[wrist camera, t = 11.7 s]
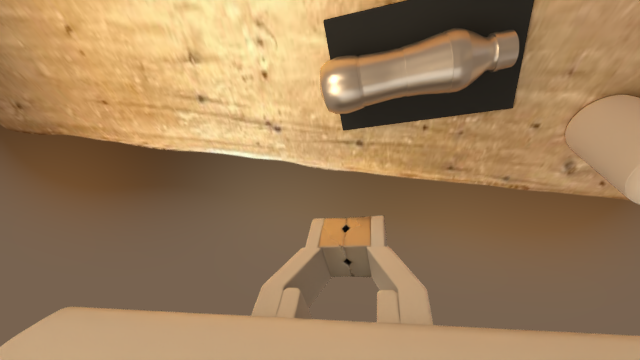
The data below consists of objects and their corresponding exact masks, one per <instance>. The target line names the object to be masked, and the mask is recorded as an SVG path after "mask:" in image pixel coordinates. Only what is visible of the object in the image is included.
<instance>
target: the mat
mask: <svg viewBox="0 0 640 360" xmlns="http://www.w3.org/2000/svg"><path fill="white" fill-rule="evenodd" d="M533 2H534V0H407V1H403V2H398V3H394V4H390V5H386V6H382V7H377V8H373V9H369V10H365V11H360V12H356V13H352V14H348V15H344V16H339V17H335V18H331V19H327V20H324V26H325V32H326V37H327V43H328V49H329V54H330V60H332V59H334V58H336V57H341V56H354V55H356V56H360V55H366V54H372V53H378V52H384V51H389V50H393V49H396V48H397V49H399V48H401V47H403V46H406V45H409V44H413V43H416V42H419V41H421V40H424V39H426V38H429V37H431V36H434V35H436V34H439V33H443V32H444V31H447V30H450V29H453V28H462V29H466V30H469V31H472V32H475V33H477V34H479V35H481V36H483V37H488V35H489V34H490V33H494V32H503V31H507V30H514V31H515V32H516V33H517V35H518V39H519V54H518V58H517V61H516V63H515V64H514V65H513V66H512V67H509V68H505V69H501V70H498V71H496V72H489V71H488V70H487V71H485V72H484V73H483V74H482V75H481V76H479V77H478V78H477V79H476V80H475V81H474V82H473V83H471V84H470V85H469V86H467V87H466V88H464V89H462V90H460V91H457V92H451V93H440V94H424V95H415V96H409V97H406V96H404V97H402V98H395V99H391V100H387V101H384V102H380V103H377V104H373V105H369V106H365V107H364V108H362V109H360V110H357V111H354V112H351V113H348V114H340V116H341V121H342V127H343V130H350V129H358V128H365V127H373V126H380V125H388V124H395V123H403V122H410V121H418V120H425V119H433V118H441V117H448V116H456V115H463V114H471V113H478V112H486V111H493V110H501V109H509V108H513V104H514V99H515V93H516V88H517V83H518V78H519V73H520V68H521V63H522V58H523V53H524V48H525V43H526V37H527V32H528V27H529V22H530V17H531V12H532V7H533Z"/></svg>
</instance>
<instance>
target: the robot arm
mask: <svg viewBox="0 0 640 360" xmlns="http://www.w3.org/2000/svg"><path fill="white" fill-rule="evenodd" d="M341 276H342V277H343V276H355V277H372V279H373V281H374V282H375V284H376V285H377V287H378V289H379V290H380V291H379V292H378V293H377V322H360V321H340V320H321V319H313V318H312V316H311V314H310V311H309V308H310V306H311V305H312V303H313V302H314V301H315V299H316V298H317V297H318V295H319V294H320V292H321V291H322V290H323V288H324V287H325V286H326V284H327V283H328V281H329V280H330V279H331V277H341ZM0 360H640V336H633V335H613V334H594V333H575V332H556V331H535V330H516V329H497V328H477V327H458V326H439V325H433V321H432V315H431V309H430V304H429V298H428V293H427V289H426V288H425V287H424V286H423V285H422V283H421V282H420V281H419V280H418V279H417V278H416V277H415V275H414V274H413V273H412V272H411V271H410V270H409V269H408V267H407V266H406V265H405V264H404V263H403V262H402V261H401V259H400V258H399V257H398V256H397V255H396V254H395V253H394V252H393V250H392V249H391V248H390V247H389V246H387V239H386V229H385V220H384V216H367V217H351V218H350V217H349V218H325V219H313V221H312V224H311V227H310V231H309V235H308V239H307V243H306V246H305V248H301V249H300V250H299V251H298V252H297V253H296V254H295V255H294V256H293V257H292V258H291V259H290V260H289V261H288V262H287V263H286V264H285V265H284V266H282V267H281V268H280V269H279V270H278V271H277V272H276V273H275V274H274V275H273V276H272V277H271V278H270V279H269V280H268V281H267V282H266V283H265V284H264V285H262V287H261V290H260V293H259V295H258V298H257V301H256V304H255V306H254V309H253V312H252V314H251V316H244V315H224V314H205V313H204V314H203V313H186V312H167V311H148V310H128V309H109V308H90V307H66V308H63V309H61V310H59V311H57V312H55V313H53V314H52V315H50V316H48V317H46V318H44V319H43V320H41V321H39V322H38V323H36V324H34V325H33V326H31V327H29V328H28V329H26V330H24V331H23V332H21V333H20V334H18V335H16V336H15V337H13V338H12V339H10V340H9V341H8V342H6V343H5V344H4V345H2V346H1V347H0Z"/></svg>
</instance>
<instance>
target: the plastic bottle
mask: <svg viewBox="0 0 640 360" xmlns="http://www.w3.org/2000/svg"><path fill="white" fill-rule="evenodd" d="M518 54H519V39H518V35H517V33H516V32H515V31H514V30H507V31H503V32H494V33H490V34H489V35H488V37H483V36H481V35H479V34H477V33H475V32H472V31H469V30H466V29H462V28H453V29H450V30H447V31H444V32H443V33H439V34H436V35H434V36H431V37H429V38H426V39H424V40H421V41H419V42H416V43H413V44H409V45H406V46H403V47H401V48H399V49H397V48H396V49H393V50H389V51H384V52H378V53H372V54H366V55H360V56H356V55H354V56H341V57H336V58H334V59H332V60H329V61H327V62H326V63H325V64H324V65H323V66H322V67H321V70H320V90H321V94H322V96H323V99H324V101H325V104H326V106H327V108H328V110H329V111H330V112H333V113H335V114H348V113H351V112H354V111H357V110H360V109H362V108H364V107H365V106H369V105H373V104H377V103H380V102H384V101H387V100H391V99H395V98H402V97H404V96H406V97H409V96H415V95H424V94H440V93H451V92H457V91H460V90H462V89H464V88H466V87H467V86H469V85H470V84H471V83H473V82H474V81H475V80H476V79H477V78H478V77H479V76H481V75H482V74H483V73H484V72H485V71H487V70H488V71H489V72H496V71H498V70H501V69H505V68H509V67H512V66H513V65H514V64H515V63H516V61H517V58H518Z"/></svg>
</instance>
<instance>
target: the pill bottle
mask: <svg viewBox="0 0 640 360" xmlns="http://www.w3.org/2000/svg"><path fill="white" fill-rule="evenodd" d="M565 140H566V143H567V145H568V146H569V147H570V148H571V150H572V151H574V152H575V153H576V154H577V155H578V156H579V157H581V158H582V159H583V160H584V161H585V162H586V163H588V164H589V165H590V166H591V167H592V168H593V169H595V170H596V171H597V172H598V173H599V174H600V175H602V176H603V177H604V178H605V179H606V180H607V181H609V182H610V183H611V184H612V185H613V186H614V187H616V188H617V189H618V190H619V191H620V192H621V193H622V194H624V195H625V196H626V197H627V198H628V199H630V200H631V201H633V202H634V203H636V204H639V205H640V98H638V97H635V96H631V95H614V96H609V97H605V98H602V99H599V100H597V101H595V102H593V103H591V104H589V105H587V106H586V107H584V108H583V109H582V110H580V111H579V112H578V113H577V114H576V115H575V116H574V117H573V118H572V119H571V121H570V122H569V124H568V126H567V128H566V132H565Z"/></svg>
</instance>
